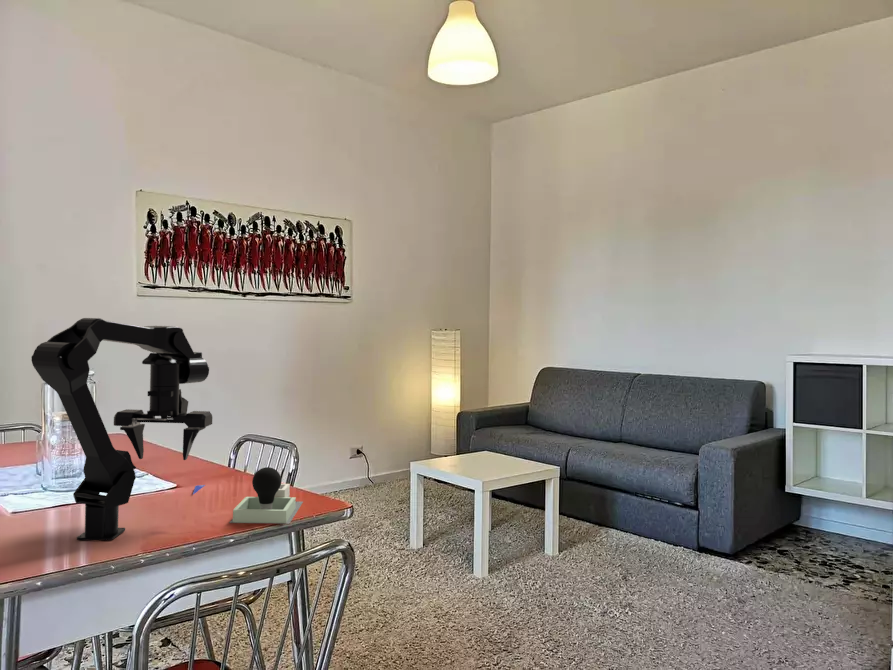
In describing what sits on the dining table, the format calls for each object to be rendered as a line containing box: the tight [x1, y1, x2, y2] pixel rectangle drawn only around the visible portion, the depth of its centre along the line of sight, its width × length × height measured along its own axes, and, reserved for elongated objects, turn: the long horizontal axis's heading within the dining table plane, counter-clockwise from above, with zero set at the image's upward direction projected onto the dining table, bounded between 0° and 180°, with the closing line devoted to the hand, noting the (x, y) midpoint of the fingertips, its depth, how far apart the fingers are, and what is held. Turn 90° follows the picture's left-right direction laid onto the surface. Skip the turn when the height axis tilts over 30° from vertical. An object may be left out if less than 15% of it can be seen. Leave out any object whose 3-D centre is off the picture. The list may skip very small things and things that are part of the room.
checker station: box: [228, 483, 304, 525], centre depth 147 cm, size 17×12×5 cm
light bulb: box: [251, 466, 282, 509], centre depth 144 cm, size 6×6×10 cm
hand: (163, 459), depth 145 cm, fingers open, 9 cm apart
